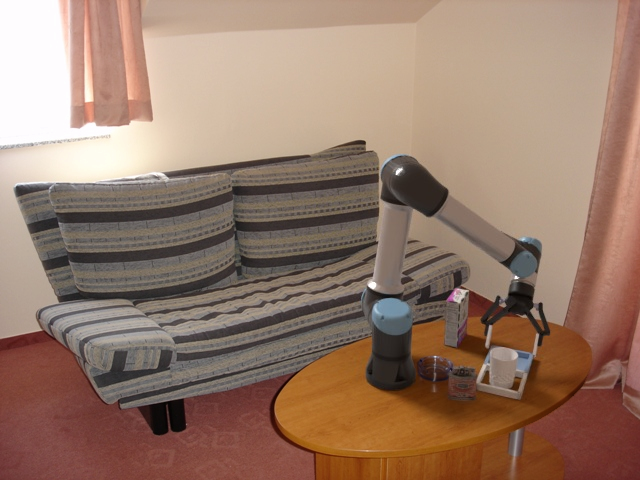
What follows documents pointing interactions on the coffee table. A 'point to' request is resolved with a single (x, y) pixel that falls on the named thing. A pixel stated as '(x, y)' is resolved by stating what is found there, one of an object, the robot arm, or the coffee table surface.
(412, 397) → the coffee table surface
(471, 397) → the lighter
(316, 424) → the coffee table surface
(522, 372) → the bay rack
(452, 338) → the candy bar box
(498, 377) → the white cup
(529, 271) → the robot arm
